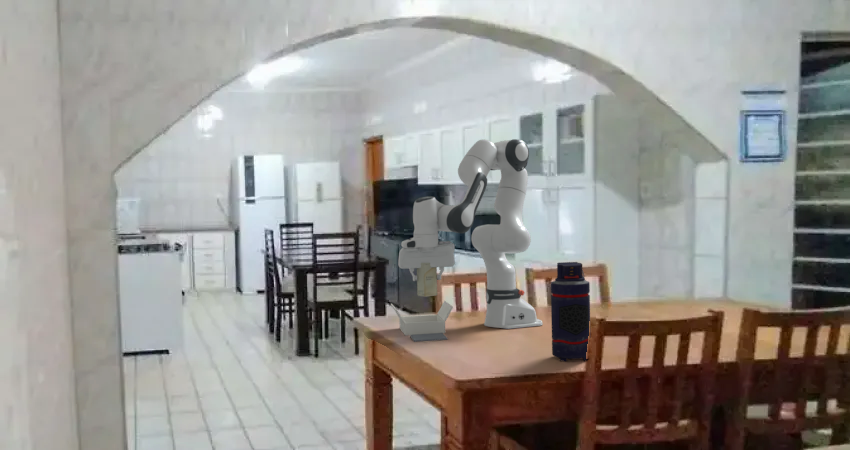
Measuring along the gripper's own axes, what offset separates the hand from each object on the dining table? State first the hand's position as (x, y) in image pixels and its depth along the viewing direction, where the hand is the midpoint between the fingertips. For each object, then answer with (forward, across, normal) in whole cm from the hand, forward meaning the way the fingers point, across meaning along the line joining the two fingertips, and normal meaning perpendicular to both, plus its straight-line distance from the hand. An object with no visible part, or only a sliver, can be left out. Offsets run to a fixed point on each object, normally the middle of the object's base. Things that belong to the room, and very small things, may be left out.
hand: (427, 280), depth 289 cm
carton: (+21, 0, -15) cm, 26 cm away
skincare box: (+6, 0, 0) cm, 6 cm away
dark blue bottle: (+21, -38, +44) cm, 62 cm away
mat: (+21, 0, 0) cm, 21 cm away
